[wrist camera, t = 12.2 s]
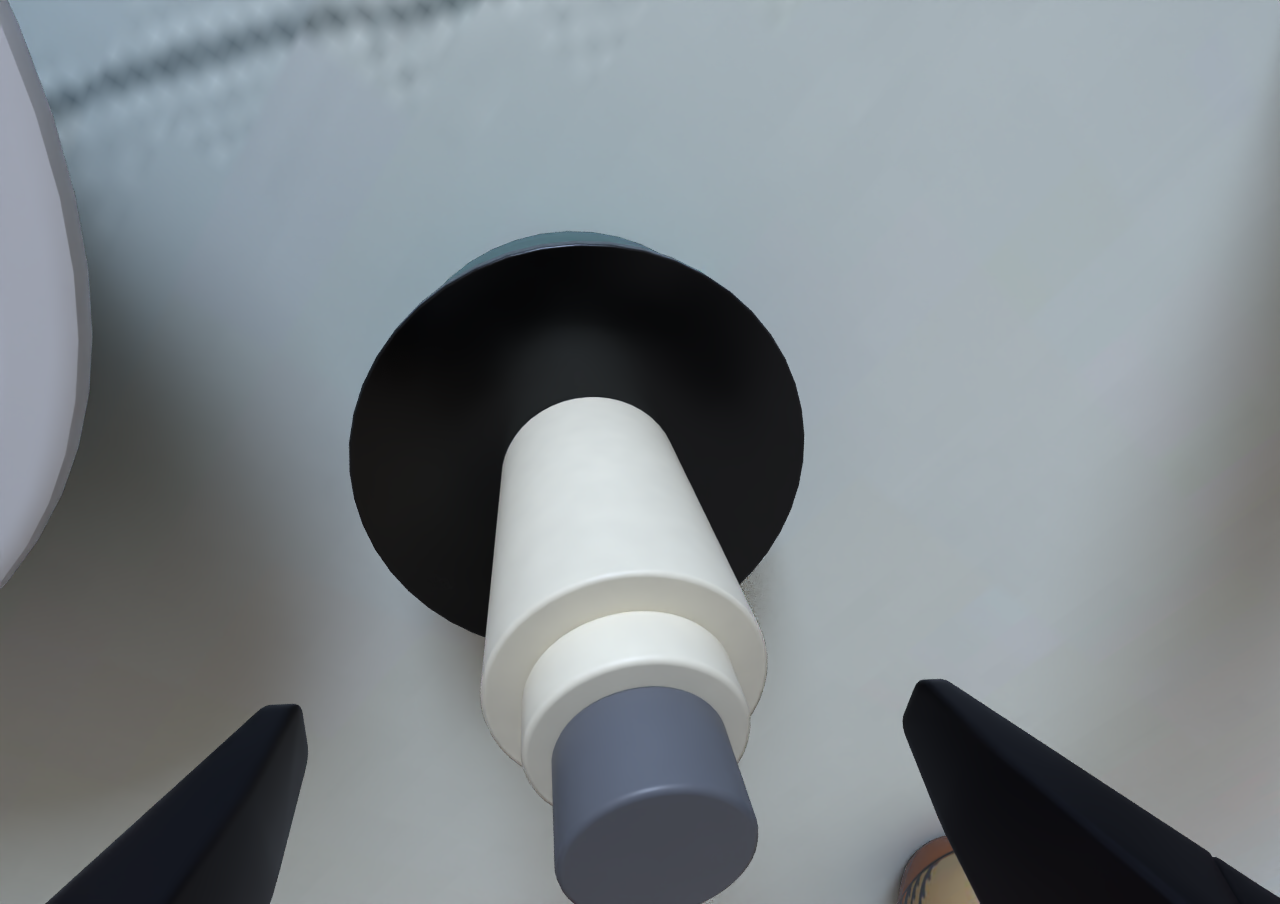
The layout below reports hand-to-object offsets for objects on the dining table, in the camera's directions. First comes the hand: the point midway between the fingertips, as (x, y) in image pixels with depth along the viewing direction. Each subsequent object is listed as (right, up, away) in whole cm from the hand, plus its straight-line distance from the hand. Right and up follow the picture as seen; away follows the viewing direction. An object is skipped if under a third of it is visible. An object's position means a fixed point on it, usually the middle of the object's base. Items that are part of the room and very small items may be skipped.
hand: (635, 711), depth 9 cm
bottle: (-1, +3, +7) cm, 7 cm away
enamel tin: (-2, +5, +11) cm, 12 cm away
